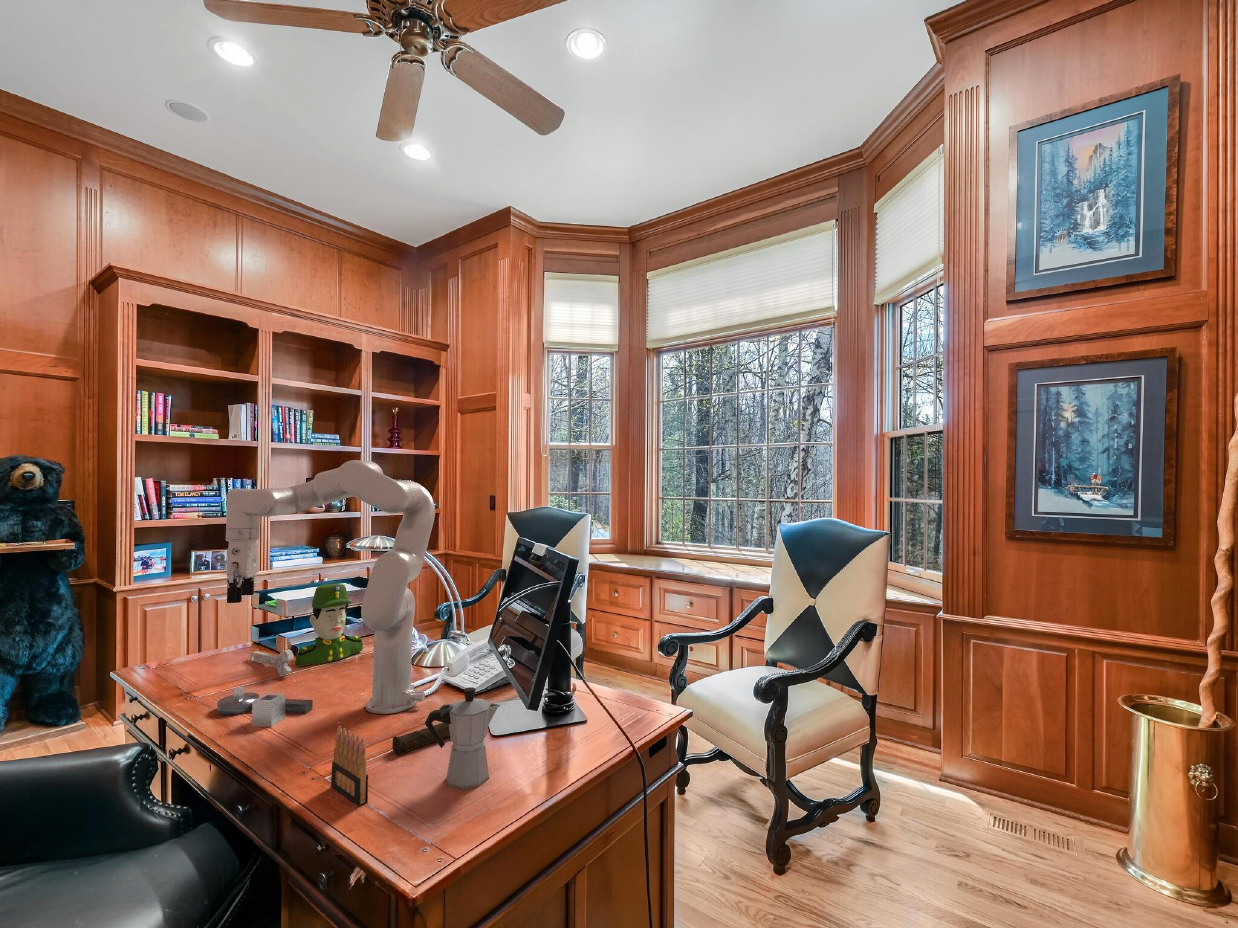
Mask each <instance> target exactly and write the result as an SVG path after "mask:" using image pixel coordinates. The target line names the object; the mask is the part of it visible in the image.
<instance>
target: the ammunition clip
mask: <svg viewBox="0 0 1238 928" xmlns="http://www.w3.org/2000/svg"><path fill="white" fill-rule="evenodd" d="M333 750H334V751H333V760H332V761H331V774H330V775H331V777H330V788H331V789H332V790H334V791H335V792H337V793H338V794H339V795H341V796H342V797H344V798H345V799H346V800H348V801H349V802H351V804H354V805H355V806H356V807H361V806H362V805H365V804H367V803H368V802H369V801H368V800H369V775H368V774H367V768H368V767H367V765H368V764H367V763H368V762H367V755H366V754H367V753H366V742H365V739H364V738H363V737H362V738H360V736H359V735H355V733H354V732H352V733H351V731H350V730H349V729H348V730H346V728H345V727H343V728H342V726H341V725H340V724H339V725H338V727H337V728H336V733H335V744H334V748H333Z"/></svg>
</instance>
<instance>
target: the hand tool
mask: <svg viewBox="0 0 1238 928" xmlns="http://www.w3.org/2000/svg"><path fill="white" fill-rule="evenodd" d="M433 726H434V727H435V729H436V730H437V732H438V733H439V735H440V736H441V738H442V739H445V738H450V731H449V724H447V723H443V722H440V723H437V724H435V725H433ZM434 742H437V741H436V740H435V738H434V737H433V735H432V734H431V732H430V731H429V729H428V728H427V727H424V728H422V729H419V730H414V731H412V732H409V733H406V734H403V735H399V736H393V737H392V742H391V743H392V750H393V753H394V754H395V755H396V756H398V757H399V756H400V755H401V754H403V753H404V754H407V752H408V751H411V750H413V749H416V748H419V747H422V746H424V745H428V744H431V743H434Z"/></svg>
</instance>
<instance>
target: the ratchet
mask: <svg viewBox="0 0 1238 928" xmlns="http://www.w3.org/2000/svg"><path fill="white" fill-rule="evenodd" d="M259 697H260V694H258V693H256V692H245V686H242V685H241V686H240V685H238V686H236V687H233V694H230V695H227V696H224V697H222V698H221V699H219V700H217V702H216V703H217V704H216V705H217V706H216V713H217V715H219V716H222V717H231V716H239V715H238V714H240V715H244V714H247V713H250V712H252V701H254V700H255V699H257V698H259ZM313 701H314V700H313V699H303V698H301V699H299V698H297V699H296V698H294V699H293V698H285V714H302V715H303V714H304V715H306V714H308V713H309V712H311V711H312V710H313V706H314V705H313V704H314V703H313ZM243 713H244V714H243Z"/></svg>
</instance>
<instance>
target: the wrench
mask: <svg viewBox="0 0 1238 928" xmlns="http://www.w3.org/2000/svg"><path fill="white" fill-rule="evenodd" d="M249 658H250V660H251V661H252V662H253V663H259V664H264V665H268V666H272V667H275V669H276V670H277V672H278V674H279V676H280V677H285V676H287V675H290V674H291V673H292V668H291V666H289V662H293V661H295V656H294V653H293V651H292V650H291V649H285V650H282V651H281V652H280V653H279V654H277V655H276V654H271V653H267V652H263V651H259V650H257V651H252V652H251V653H250V657H249Z"/></svg>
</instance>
